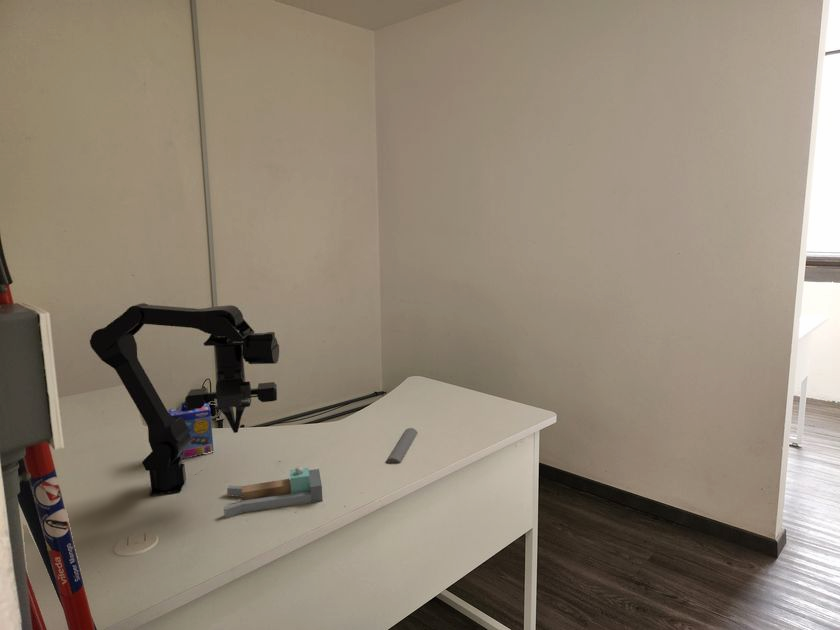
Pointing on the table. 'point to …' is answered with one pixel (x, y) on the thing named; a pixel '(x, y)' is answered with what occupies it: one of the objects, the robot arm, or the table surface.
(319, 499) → the guide
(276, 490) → the batten
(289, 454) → the table surface
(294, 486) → the block
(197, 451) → the ink cartridge box
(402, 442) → the gray half cylinder
